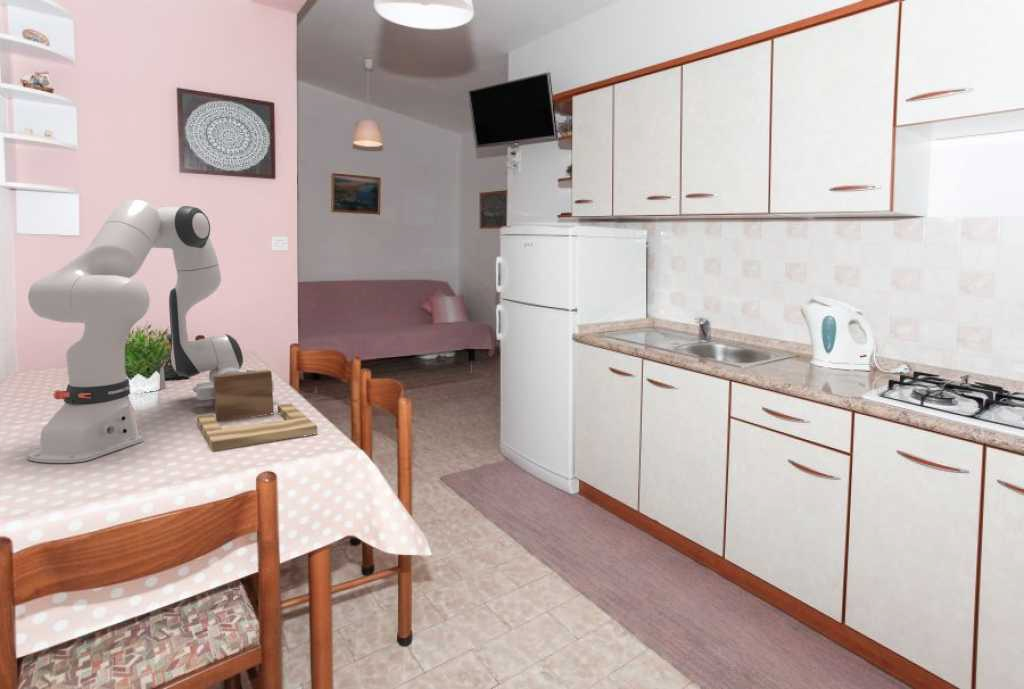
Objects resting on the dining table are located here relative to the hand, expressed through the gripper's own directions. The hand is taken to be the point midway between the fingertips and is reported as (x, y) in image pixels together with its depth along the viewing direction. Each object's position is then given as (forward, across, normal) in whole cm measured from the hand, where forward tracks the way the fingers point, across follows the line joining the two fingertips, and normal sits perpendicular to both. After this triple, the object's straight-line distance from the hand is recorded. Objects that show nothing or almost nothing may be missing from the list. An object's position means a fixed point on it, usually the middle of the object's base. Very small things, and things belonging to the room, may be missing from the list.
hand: (240, 393), depth 167 cm
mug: (-45, -21, +6) cm, 50 cm away
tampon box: (-60, -11, +6) cm, 61 cm away
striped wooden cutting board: (+18, 0, +6) cm, 19 cm away
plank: (+4, 0, +6) cm, 7 cm away
